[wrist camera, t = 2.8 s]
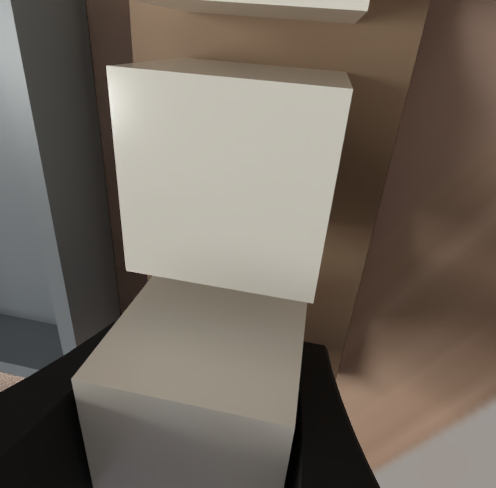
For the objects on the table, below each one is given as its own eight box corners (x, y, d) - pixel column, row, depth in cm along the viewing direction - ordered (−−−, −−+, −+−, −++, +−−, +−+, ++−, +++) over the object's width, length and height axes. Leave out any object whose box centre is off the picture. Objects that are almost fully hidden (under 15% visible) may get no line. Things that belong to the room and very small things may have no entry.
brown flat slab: (330, 373, 16) (329, 403, 14) (167, 341, 17) (153, 366, 15) (468, -208, 8) (494, -258, 7) (145, -204, 9) (111, -247, 8)
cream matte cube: (289, 400, 12) (271, 552, 8) (164, 374, 12) (97, 506, 9) (308, 291, 10) (295, 427, 6) (159, 267, 10) (70, 378, 7)
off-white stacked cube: (320, 222, 11) (313, 303, 8) (188, 203, 12) (126, 270, 8) (346, 71, 9) (352, 88, 6) (187, 57, 10) (105, 65, 6)
